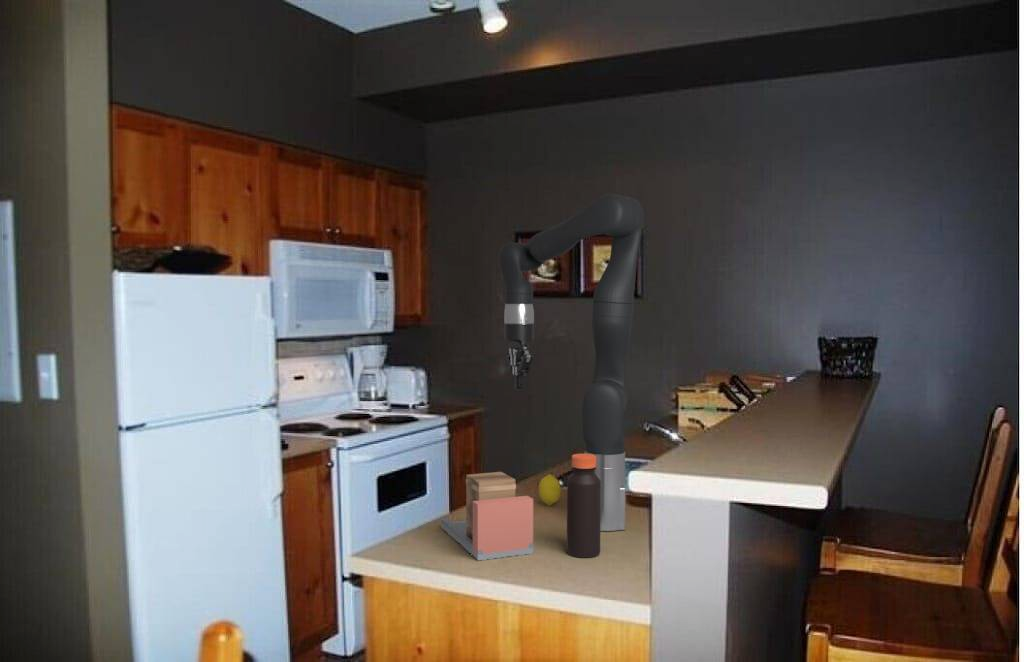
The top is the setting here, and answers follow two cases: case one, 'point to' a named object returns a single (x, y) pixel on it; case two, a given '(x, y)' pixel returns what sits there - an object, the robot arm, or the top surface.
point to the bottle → (583, 508)
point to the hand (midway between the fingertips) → (519, 389)
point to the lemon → (549, 489)
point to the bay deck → (459, 534)
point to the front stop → (502, 524)
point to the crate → (486, 492)
